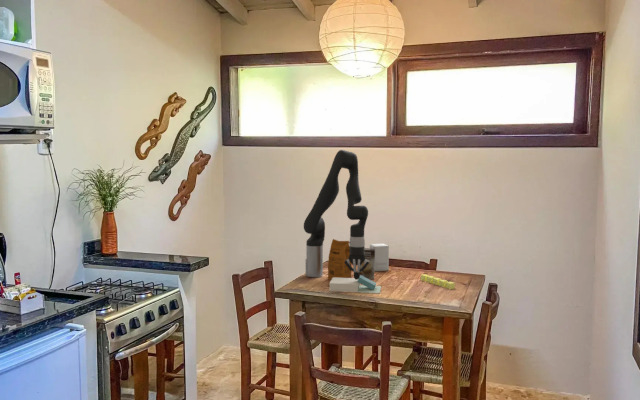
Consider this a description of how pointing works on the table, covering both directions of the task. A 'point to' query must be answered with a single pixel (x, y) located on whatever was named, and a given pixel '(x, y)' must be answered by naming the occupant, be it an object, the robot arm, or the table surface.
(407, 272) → the table surface
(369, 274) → the coffee box
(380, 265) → the supplement box
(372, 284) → the teal block
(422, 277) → the yellow piece
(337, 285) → the white flat block
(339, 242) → the coffee package
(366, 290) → the mat
